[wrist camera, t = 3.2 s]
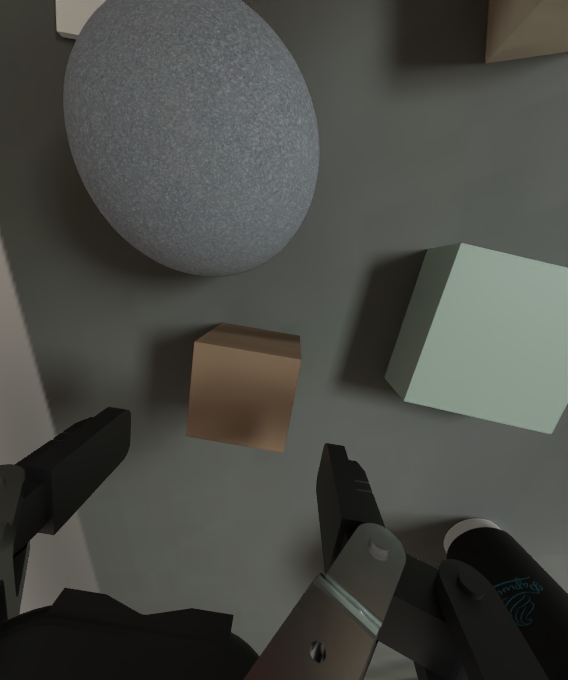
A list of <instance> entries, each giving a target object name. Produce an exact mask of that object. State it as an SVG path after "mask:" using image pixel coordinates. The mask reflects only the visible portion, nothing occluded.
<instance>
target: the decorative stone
mask: <svg viewBox="0 0 568 680" xmlns="http://www.w3.org/2000/svg"><path fill="white" fill-rule="evenodd" d="M63 107H64V120H65V126H66V133H67V137H68V142H69V146H70V149H71V153H72V156H73V159H74V162H75V165H76V168H77V170H78V173H79V175H80V177H81V179H82V182H83V184H84V186H85V188H86V189H87V191H88V193H89V195H90V197H91V198H92V200H93V201H94V203H95V205H96V206H97V208H98V209H99V211H100V212H101V213H102V215H103V216H104V217H105V219H106V220H107V221H108V222H109V223H110V225H111V226H112V227H113V228H114V229H115V230H116V231H117V232H118V233H119V234H120V235H121V236H122V237H123V238H124V239H125V240H126V241H127V242H129V243H130V244H131V245H132V246H133V247H135V248H136V249H137V250H139V251H140V252H142V253H143V254H144V255H146V256H147V257H149V258H151V259H153V260H154V261H156V262H158V263H160V264H162V265H164V266H166V267H169V268H171V269H174V270H177V271H180V272H184V273H188V274H192V275H198V276H209V277H217V276H230V275H235V274H239V273H243V272H246V271H249V270H251V269H254V268H256V267H258V266H260V265H262V264H263V263H265V262H267V261H268V260H270V259H271V258H272V257H274V256H275V255H276V254H277V253H279V252H280V251H281V250H282V249H283V248H284V247H285V246H286V245H287V243H288V242H289V241H290V240H291V239H292V237H293V236H294V235H295V233H296V232H297V230H298V229H299V227H300V225H301V224H302V222H303V220H304V218H305V216H306V214H307V212H308V209H309V207H310V204H311V201H312V198H313V195H314V191H315V186H316V182H317V175H318V167H319V136H318V127H317V121H316V116H315V111H314V107H313V103H312V99H311V97H310V94H309V91H308V88H307V85H306V83H305V81H304V78H303V76H302V74H301V72H300V70H299V68H298V66H297V64H296V62H295V60H294V59H293V57H292V55H291V53H290V52H289V50H288V49H287V48H286V46H285V45H284V43H283V42H282V40H281V39H280V38H279V37H278V35H277V34H276V33H275V32H274V31H273V29H272V28H271V27H270V26H269V25H268V24H267V23H266V22H265V21H264V20H263V19H262V18H261V17H260V16H259V15H258V14H257V13H256V12H255V11H254V10H253V9H251V8H250V7H249V6H248V5H247V4H245V3H244V2H243V1H242V0H106V1H105V2H104V3H103V4H102V5H101V6H100V7H99V8H98V9H97V10H96V11H95V12H94V13H93V14H92V15H91V17H90V18H89V19H88V21H87V22H86V23H85V25H84V26H83V28H82V30H81V31H80V33H79V35H78V37H77V40H76V42H75V44H74V46H73V49H72V51H71V54H70V57H69V61H68V64H67V68H66V72H65V79H64V88H63Z"/></svg>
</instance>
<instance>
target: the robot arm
mask: <svg viewBox="0 0 568 680" xmlns="http://www.w3.org/2000/svg"><path fill="white" fill-rule="evenodd" d="M130 429H131V413H130V411H129V410H125V409H119V408H113V407H108V408H106V409H105V410H103V411H102V412H100V413H99V414H98V415H96V416H95V417H90V418H88V419H85V420H82V421H80V422H77V423H75V424H74V425H72V426H71V427H69V428H68V429H66V430H65V431H64V432H63V433H61V434H59V435H58V436H56V437H55V438H54V439H53V440H50V441H49V442H47V443H46V444H44V445H43V446H41V447H40V448H39V449H37V450H36V451H34V452H33V453H31V454H30V455H28V456H27V457H25V458H24V459H22V460H21V461H19V462H18V463H16V464H15V465H12V464H7V465H0V680H364V678H365V676H366V673H367V670H368V668H369V665H370V662H371V660H372V657H373V654H374V652H375V649H376V646H377V644H378V641H380V642H382V643H383V644H385V645H387V646H388V647H390V648H392V649H394V650H395V651H397V652H399V653H401V654H402V655H404V656H406V657H408V658H409V659H411V660H413V661H414V665H415V668H416V672H417V676H418V680H549V679H548V677H547V675H546V674H545V672H544V670H543V668H542V667H541V665H540V663H539V662H538V660H537V658H536V657H535V655H534V653H533V652H532V650H531V648H530V647H529V645H528V643H527V642H526V640H525V638H524V636H523V635H522V633H521V631H520V630H519V628H518V626H517V625H516V623H515V621H514V620H513V618H512V616H511V615H510V613H509V611H508V610H507V608H506V606H505V604H504V603H503V601H502V599H501V598H500V596H499V594H498V593H497V591H496V590H495V588H494V587H493V586H492V584H491V583H490V582H489V581H488V580H487V579H486V578H485V577H484V576H483V575H482V574H481V573H480V572H478V571H477V570H476V569H474V568H473V567H471V566H470V565H468V564H466V563H464V562H462V561H459V560H455V559H447V560H444V561H443V562H442V563H441V564H440V566H439V569H436V568H434V567H432V566H430V565H427V564H425V563H423V562H421V561H419V560H417V559H415V558H413V557H411V556H409V555H408V554H406V553H405V550H404V548H403V546H402V544H401V542H400V541H399V540H398V538H397V537H396V536H395V535H394V534H393V533H392V532H390V531H389V530H388V529H386V528H385V526H384V523H383V520H382V517H381V515H380V512H379V509H378V506H377V504H376V501H375V498H374V495H373V494H372V490H371V487H370V484H369V482H368V479H367V476H366V473H365V471H364V470H363V469H362V467H361V466H360V465H359V464H358V463H357V462H356V461H351V460H348V457H347V453H346V450H345V447H344V446H341V445H335V444H329V443H325V445H324V449H323V453H322V458H321V462H320V467H319V471H318V476H317V484H316V493H317V503H318V512H319V522H320V531H321V541H322V550H323V560H324V569H325V576H324V575H323V574H322V573H320V574H319V575H317V577H316V578H315V579H314V580H313V582H312V583H311V584H310V586H309V587H308V589H307V590H306V592H305V593H304V594H303V596H302V597H301V599H300V600H299V601H298V603H297V604H296V606H295V607H294V609H293V610H292V611H291V613H290V614H289V616H288V617H287V619H286V620H285V621H284V623H283V624H282V626H281V627H280V628H279V630H278V631H277V633H276V634H275V636H274V637H273V638H272V640H271V641H270V643H269V644H268V645H267V647H266V648H265V650H264V651H263V653H262V654H261V655H260V657H259V656H258V654H257V653H256V652H255V651H254V650H253V649H252V647H251V646H250V645H249V644H248V643H246V642H245V641H244V640H243V639H241V638H240V637H239V636H237V635H235V634H233V633H232V632H231V627H232V621H233V615H230V614H224V613H218V612H212V611H206V610H199V609H193V608H191V609H184V610H177V611H170V612H164V613H157V614H150V615H143V614H140V613H138V612H136V611H134V610H133V609H131V608H129V607H127V606H126V605H124V604H122V603H120V602H119V601H117V600H115V599H113V598H112V597H110V596H108V595H106V594H100V593H93V592H87V591H82V590H75V589H68V588H64V590H63V591H62V592H61V594H60V595H59V597H58V598H57V599H56V601H55V602H54V603H53V605H51V606H46V607H42V608H38V609H34V610H31V611H29V612H26V613H23V614H20V615H19V613H20V605H21V599H22V593H23V587H24V581H25V575H26V569H27V563H28V557H29V551H30V540H31V539H32V538H33V537H34V536H35V535H36V534H37V533H45V534H50V535H55V534H56V532H57V531H58V530H59V529H60V528H61V527H62V526H63V525H64V524H65V523H66V522H67V521H68V520H69V518H70V517H71V516H72V515H73V514H74V513H75V512H76V511H77V510H78V509H79V508H80V506H81V505H82V504H83V503H84V502H85V501H86V500H87V499H88V498H89V497H90V496H91V495H92V493H93V492H94V491H95V490H96V489H97V488H98V487H99V486H100V485H101V484H102V483H103V481H104V480H105V479H106V478H107V477H108V476H109V475H110V474H111V473H112V472H113V471H114V470H115V468H116V467H117V466H118V465H119V464H120V463H121V462H122V461H123V460H124V458H125V457H126V455H127V453H128V450H129V446H130Z"/></svg>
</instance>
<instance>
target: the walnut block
mask: <svg viewBox="0 0 568 680" xmlns="http://www.w3.org/2000/svg"><path fill="white" fill-rule="evenodd" d="M300 365H301V347H300V336H297V335H292V334H286V333H280V332H274V331H268V330H262V329H256V328H251V327H245V326H239V325H233V324H227V323H221V324H219V325H218V326H216V327H215V328H213V329H212V330H211V331H209V332H208V333H206V334H205V335H203V336H202V337H200V338H199V339H197V340H196V341H195V342H194V352H193V363H192V374H191V386H190V397H189V408H188V420H187V431H186V436H187V437H193V438H199V439H205V440H211V441H217V442H223V443H229V444H235V445H241V446H246V447H252V448H258V449H264V450H270V451H276V452H282V453H284V449H285V443H286V438H287V433H288V428H289V422H290V417H291V412H292V407H293V401H294V396H295V391H296V386H297V380H298V375H299V370H300Z"/></svg>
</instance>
